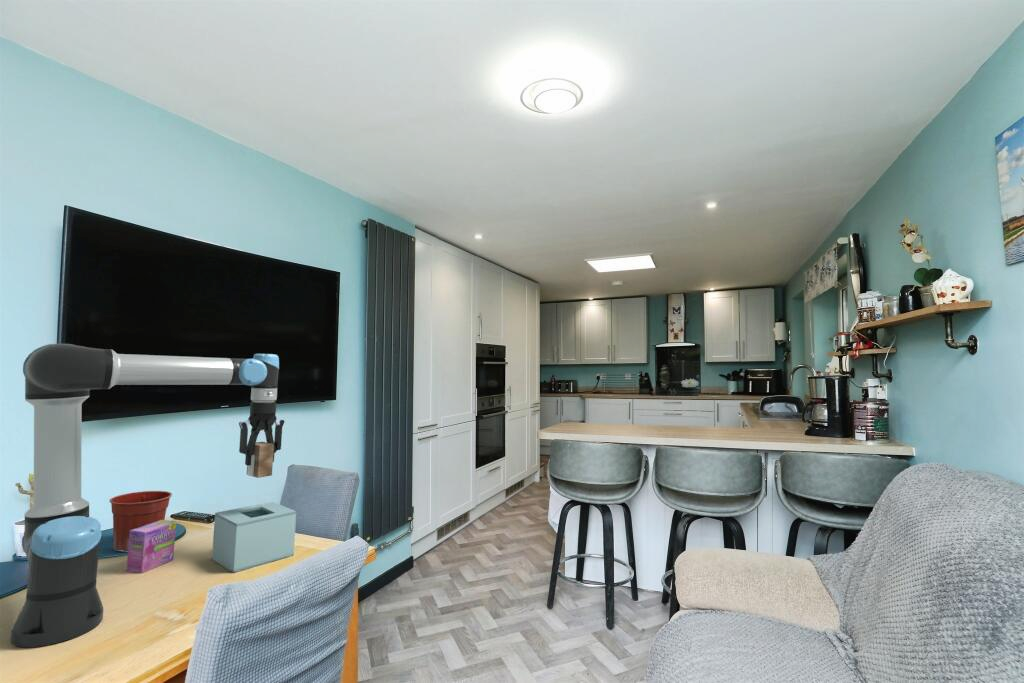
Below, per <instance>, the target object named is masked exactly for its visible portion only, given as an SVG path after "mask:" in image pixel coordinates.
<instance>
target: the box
mask: <svg viewBox="0 0 1024 683" xmlns="http://www.w3.org/2000/svg"><path fill="white" fill-rule="evenodd" d="M176 529H177V521H175V520H169V519H168V520H167V519H164V520H160V521H157V522H154V523H151V524H148V525H145V526H142V527H139V528H136V529H133V530H130V537H129V548H128V552H127V562H126V572H131V573H135V574H143V573H147V571H150V570H152V569H155V568H157V567H160V566H162V565H165V564H166V563H168V562H171V561H173V560H174V554H175V541H176Z"/></svg>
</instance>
